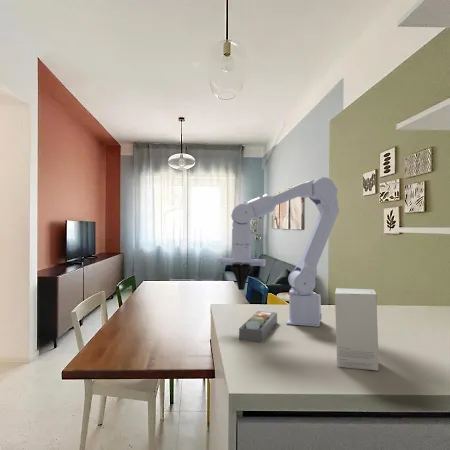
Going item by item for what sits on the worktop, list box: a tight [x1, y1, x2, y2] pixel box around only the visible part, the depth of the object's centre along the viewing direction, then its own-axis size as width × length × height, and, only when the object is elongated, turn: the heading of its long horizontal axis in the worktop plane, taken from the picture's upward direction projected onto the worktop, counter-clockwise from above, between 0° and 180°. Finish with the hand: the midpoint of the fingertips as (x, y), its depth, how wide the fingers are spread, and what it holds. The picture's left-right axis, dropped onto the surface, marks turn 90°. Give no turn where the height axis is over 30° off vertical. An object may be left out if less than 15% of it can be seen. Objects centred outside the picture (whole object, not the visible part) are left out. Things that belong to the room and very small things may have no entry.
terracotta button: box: [254, 312, 268, 321], centre depth 102 cm, size 4×4×3 cm
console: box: [238, 310, 278, 343], centre depth 100 cm, size 6×20×3 cm, turn 161°
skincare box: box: [334, 287, 380, 372], centre depth 75 cm, size 8×7×16 cm
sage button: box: [250, 316, 264, 325], centre depth 97 cm, size 4×4×3 cm
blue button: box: [245, 321, 260, 330], centre depth 93 cm, size 4×4×3 cm
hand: (241, 289), depth 108 cm, fingers closed
